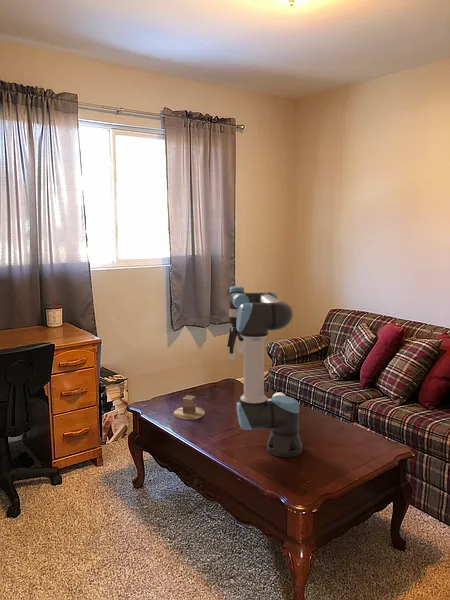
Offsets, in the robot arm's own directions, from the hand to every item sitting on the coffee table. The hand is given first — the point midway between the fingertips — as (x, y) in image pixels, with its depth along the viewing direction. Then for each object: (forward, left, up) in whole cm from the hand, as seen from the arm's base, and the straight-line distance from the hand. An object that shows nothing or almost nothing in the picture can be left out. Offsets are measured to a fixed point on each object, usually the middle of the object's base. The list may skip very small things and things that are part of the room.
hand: (236, 356), depth 257 cm
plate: (-16, +20, -29) cm, 38 cm away
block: (-16, +20, -28) cm, 38 cm away
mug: (+6, -20, -29) cm, 36 cm away
